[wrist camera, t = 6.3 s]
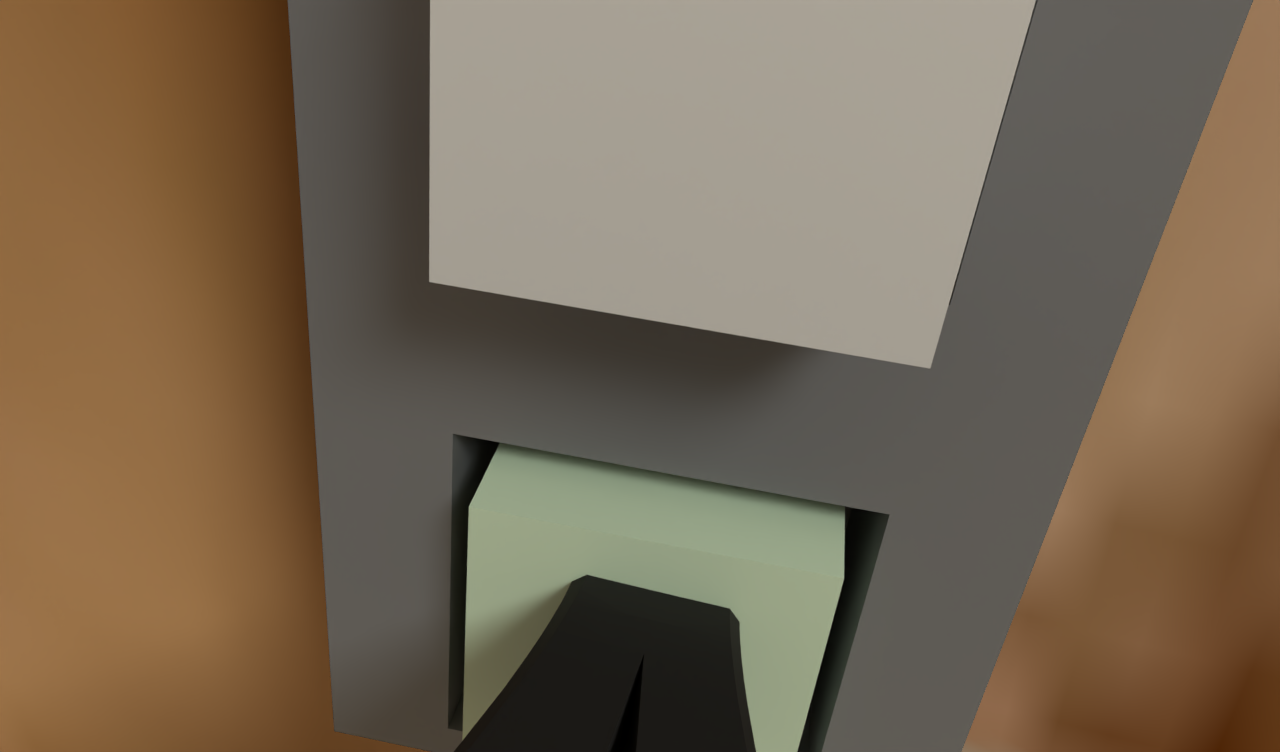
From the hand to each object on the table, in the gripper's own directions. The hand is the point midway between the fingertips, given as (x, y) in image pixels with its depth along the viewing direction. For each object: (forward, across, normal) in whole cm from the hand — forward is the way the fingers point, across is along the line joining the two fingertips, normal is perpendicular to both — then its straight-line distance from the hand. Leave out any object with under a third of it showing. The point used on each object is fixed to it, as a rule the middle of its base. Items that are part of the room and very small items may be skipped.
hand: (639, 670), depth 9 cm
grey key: (+1, 0, -5) cm, 6 cm away
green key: (+2, 0, 0) cm, 2 cm away
